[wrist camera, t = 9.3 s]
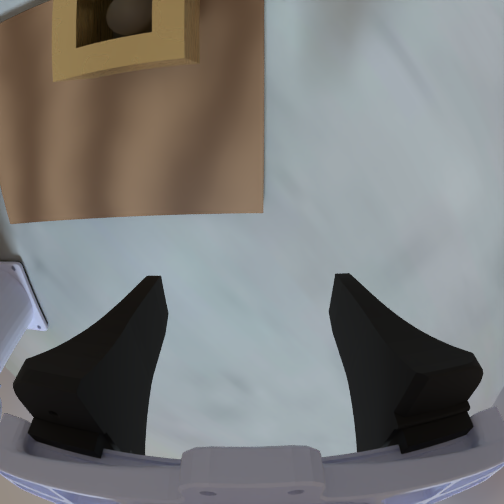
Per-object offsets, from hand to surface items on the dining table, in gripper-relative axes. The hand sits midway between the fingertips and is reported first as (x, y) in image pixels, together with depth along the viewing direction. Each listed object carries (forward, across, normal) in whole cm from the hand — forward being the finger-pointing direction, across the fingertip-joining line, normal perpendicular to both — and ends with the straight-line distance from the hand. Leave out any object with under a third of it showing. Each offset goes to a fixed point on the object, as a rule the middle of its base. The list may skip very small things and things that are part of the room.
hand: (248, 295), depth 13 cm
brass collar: (+5, +5, -12) cm, 14 cm away
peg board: (+9, +9, -8) cm, 15 cm away
